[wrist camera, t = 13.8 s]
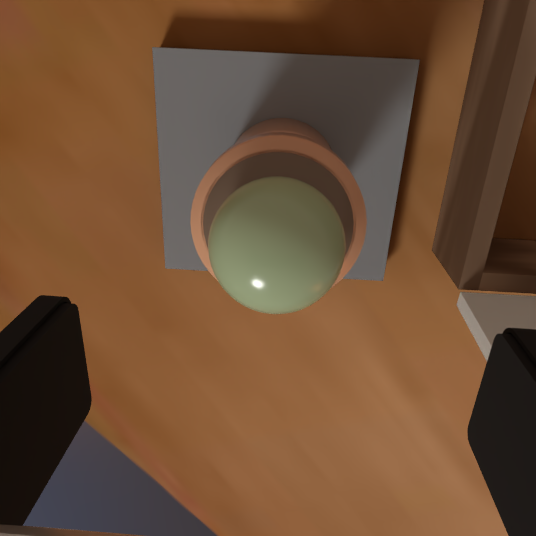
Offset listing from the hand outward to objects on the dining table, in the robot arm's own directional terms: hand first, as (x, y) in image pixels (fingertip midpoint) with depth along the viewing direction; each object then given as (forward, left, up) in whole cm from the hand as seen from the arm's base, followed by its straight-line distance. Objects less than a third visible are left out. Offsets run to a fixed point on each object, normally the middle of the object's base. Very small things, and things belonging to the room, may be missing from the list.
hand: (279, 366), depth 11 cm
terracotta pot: (0, 0, -16) cm, 16 cm away
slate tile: (0, 0, -18) cm, 18 cm away
